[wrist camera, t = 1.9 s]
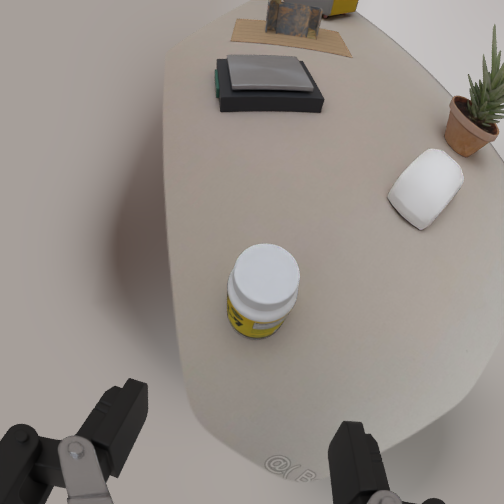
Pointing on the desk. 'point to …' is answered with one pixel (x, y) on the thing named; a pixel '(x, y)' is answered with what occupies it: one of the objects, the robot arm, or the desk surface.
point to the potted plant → (477, 110)
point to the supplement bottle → (261, 290)
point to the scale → (264, 95)
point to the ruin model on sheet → (290, 29)
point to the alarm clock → (329, 5)
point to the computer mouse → (426, 187)
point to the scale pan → (267, 73)
